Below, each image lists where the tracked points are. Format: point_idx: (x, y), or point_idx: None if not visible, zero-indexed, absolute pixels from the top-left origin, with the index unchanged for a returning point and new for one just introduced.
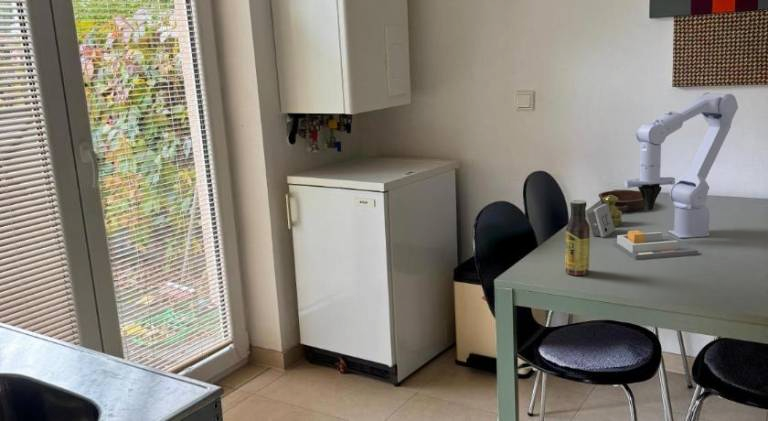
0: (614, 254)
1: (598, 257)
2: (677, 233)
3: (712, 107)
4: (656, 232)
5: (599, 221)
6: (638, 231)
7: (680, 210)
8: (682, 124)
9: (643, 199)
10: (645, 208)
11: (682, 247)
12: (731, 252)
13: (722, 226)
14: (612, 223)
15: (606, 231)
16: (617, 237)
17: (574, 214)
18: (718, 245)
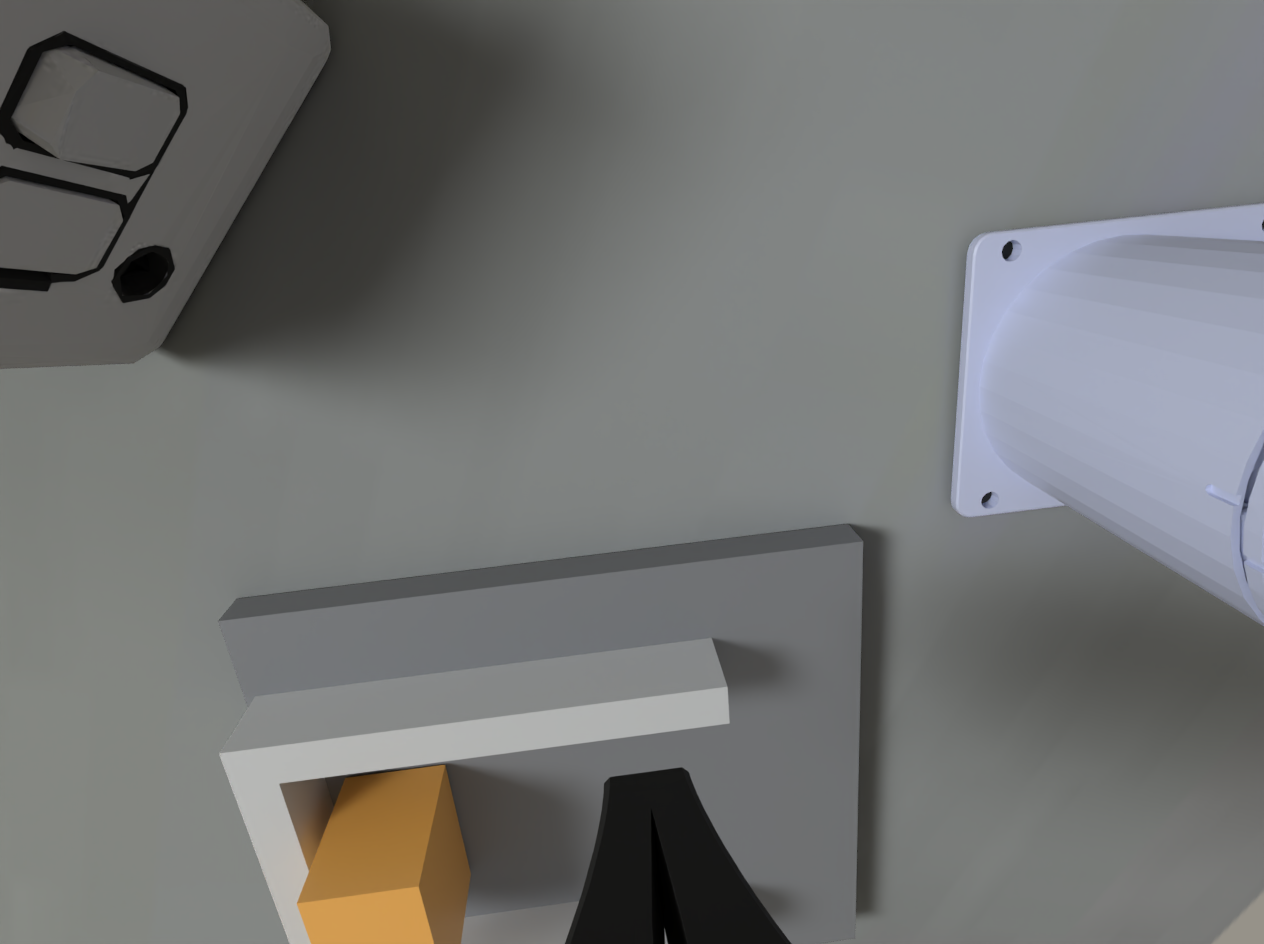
0: (218, 861)
1: (72, 917)
2: (987, 425)
3: None
4: (677, 704)
5: None
6: (412, 930)
7: (1215, 578)
8: None
9: (571, 939)
10: (603, 796)
11: (786, 868)
12: (1089, 879)
13: None
14: (257, 21)
15: (166, 275)
16: (232, 743)
17: None
18: (1121, 727)
